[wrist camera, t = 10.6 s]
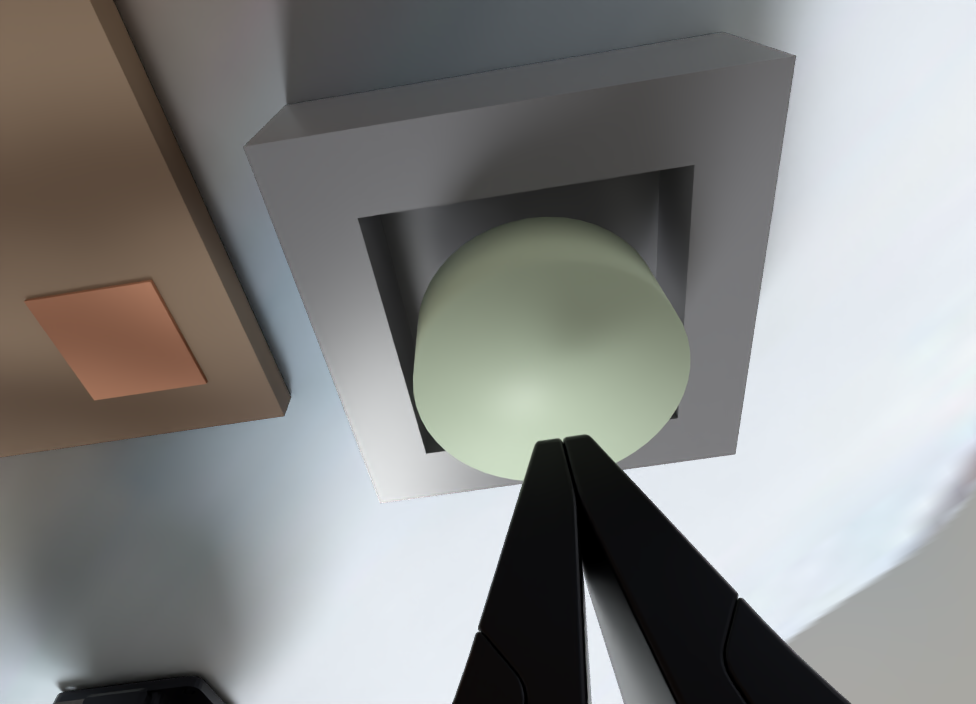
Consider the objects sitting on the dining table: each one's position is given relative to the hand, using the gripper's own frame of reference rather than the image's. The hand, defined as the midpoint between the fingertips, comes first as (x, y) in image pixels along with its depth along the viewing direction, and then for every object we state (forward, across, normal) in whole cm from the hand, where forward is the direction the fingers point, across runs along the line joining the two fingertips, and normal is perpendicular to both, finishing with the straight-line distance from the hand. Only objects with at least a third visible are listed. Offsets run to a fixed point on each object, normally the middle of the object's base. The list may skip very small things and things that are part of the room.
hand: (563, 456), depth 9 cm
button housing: (+6, 0, 0) cm, 7 cm away
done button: (+3, 0, 0) cm, 3 cm away
